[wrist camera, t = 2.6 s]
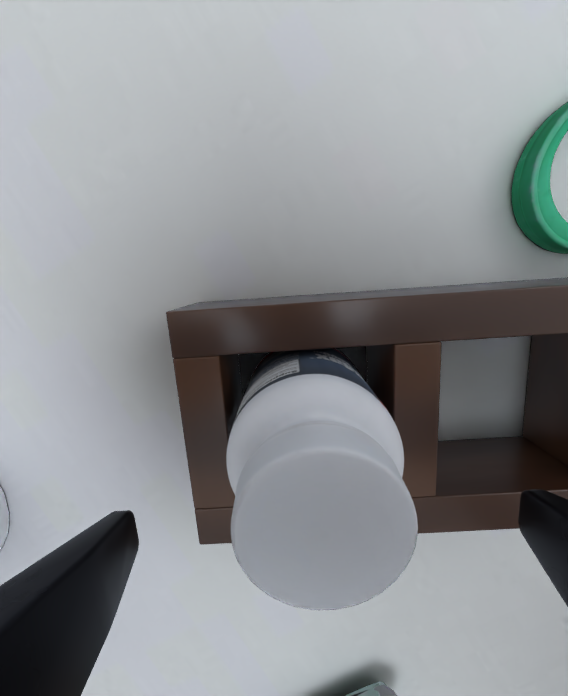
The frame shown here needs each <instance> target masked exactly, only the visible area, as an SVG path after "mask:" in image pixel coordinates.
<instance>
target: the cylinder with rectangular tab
mask: <svg viewBox="0 0 568 696" xmlns="http://www.w3.org/2000/svg"><path fill="white" fill-rule="evenodd" d="M8 528H9V511H8V507H7V503H6V498H5V494H4V493H3V491H2V489H1V487H0V550H1V549H2V546H3V544H4V542H5V539H6V537H7V534H8Z"/></svg>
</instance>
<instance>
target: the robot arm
mask: <svg viewBox="0 0 568 696" xmlns="http://www.w3.org/2000/svg"><path fill="white" fill-rule="evenodd" d="M518 524H519V528H520V531H521V533H522V535H523V536H524V538H525V539H526V541H527V543H528V544H529V546H530V547H531V549H532V551H533V552H534V554H535V555H536V557H537V559H538V560H539V562H540V563H541V565H542V567H543V568H544V570H545V571H546V573H547V575H548V576H549V578H550V580H551V581H552V583H553V584H554V586H555V588H556V589H557V591H558V592H559V594H560V595H561V597H562V598H563V600H564V602H565V603H566V605H567V606H568V500H567V499H565V498H563V497H560V496H558V495H556V494H553V493H551V492H548V491H546V490H542V489H534V490H525V491H523V492H522V493H521V496H520V506H519V516H518ZM138 546H139V539H138V533H137V528H136V523H135V518H134V514H133V512H131V511H129V510H128V511H114V512H112V513H110V514H109V515H107V516H106V517H104V518H103V519H101V520H100V521H98V522H97V523H95V524H94V525H92V526H91V527H89V528H88V529H86V530H84V531H83V532H81V533H80V534H78V535H77V536H75V537H74V538H72V539H71V540H69V541H68V542H66V543H65V544H63V545H62V546H60V547H59V548H57V549H56V550H54V551H53V552H51V553H50V554H48V555H46V556H45V557H43V558H42V559H40V560H39V561H37V562H36V563H34V564H33V565H31V566H30V567H28V568H27V569H25V570H24V571H22V572H21V573H19V574H18V575H16V576H15V577H13V578H12V579H10V580H9V581H7V582H5V583H4V584H2V585H1V586H0V696H81V694H82V691H83V689H84V687H85V685H86V682H87V680H88V678H89V676H90V673H91V671H92V669H93V667H94V664H95V662H96V660H97V658H98V656H99V653H100V651H101V649H102V647H103V644H104V642H105V640H106V637H107V635H108V633H109V630H110V628H111V625H112V623H113V620H114V617H115V615H116V612H117V609H118V606H119V603H120V600H121V598H122V595H123V592H124V589H125V586H126V583H127V580H128V577H129V574H130V572H131V569H132V566H133V563H134V560H135V557H136V554H137V551H138Z"/></svg>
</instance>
